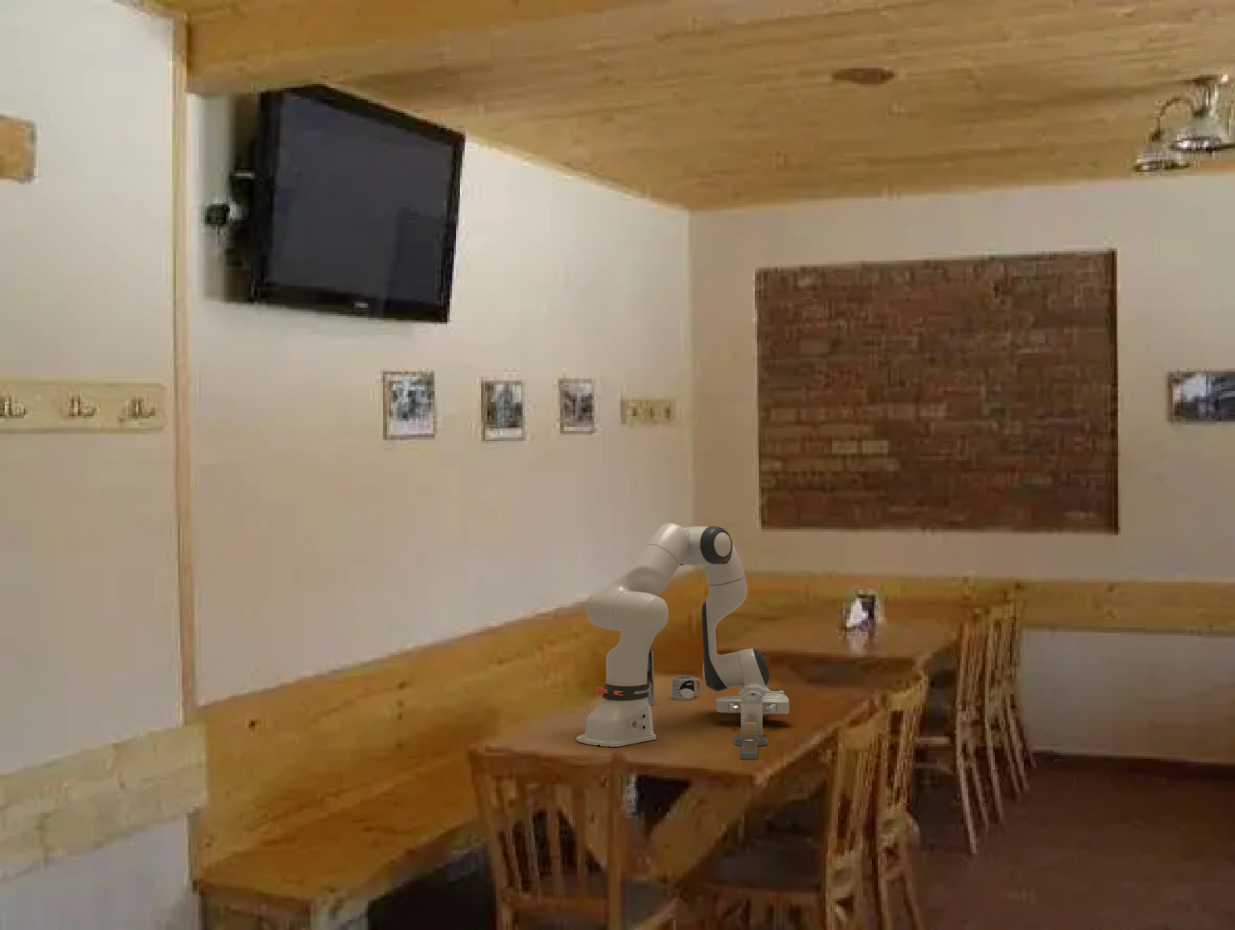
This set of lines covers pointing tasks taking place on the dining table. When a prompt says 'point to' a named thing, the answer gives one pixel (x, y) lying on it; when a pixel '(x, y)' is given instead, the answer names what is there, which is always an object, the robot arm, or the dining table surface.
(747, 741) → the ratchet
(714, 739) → the dining table surface
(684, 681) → the mug
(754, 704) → the upright grey pillar
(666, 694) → the dining table surface
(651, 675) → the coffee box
